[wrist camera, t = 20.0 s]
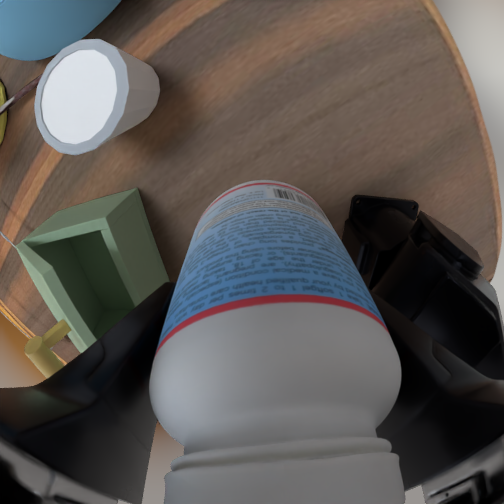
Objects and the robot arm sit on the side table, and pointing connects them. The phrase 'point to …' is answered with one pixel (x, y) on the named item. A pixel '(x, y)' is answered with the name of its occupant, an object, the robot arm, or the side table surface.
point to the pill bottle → (274, 361)
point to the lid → (61, 309)
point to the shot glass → (93, 96)
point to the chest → (102, 256)
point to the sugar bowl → (47, 25)
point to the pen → (19, 94)
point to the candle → (2, 119)
